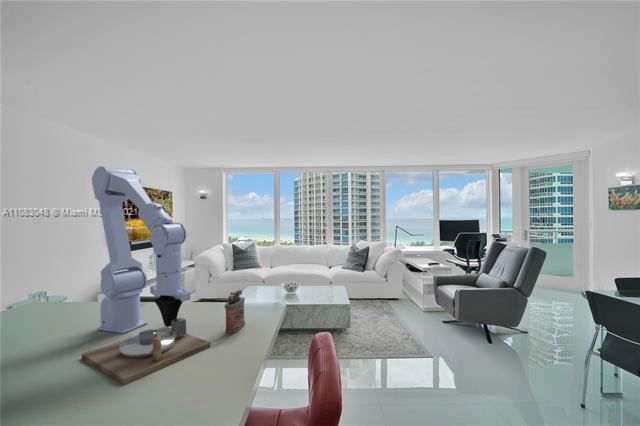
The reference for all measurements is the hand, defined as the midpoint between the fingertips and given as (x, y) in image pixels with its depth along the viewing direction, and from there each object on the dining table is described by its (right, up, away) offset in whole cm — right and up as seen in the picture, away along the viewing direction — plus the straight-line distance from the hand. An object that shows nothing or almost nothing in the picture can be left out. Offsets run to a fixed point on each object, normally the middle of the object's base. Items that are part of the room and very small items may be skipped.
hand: (170, 325), depth 79 cm
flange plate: (0, -2, -6) cm, 7 cm away
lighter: (+15, -3, +6) cm, 16 cm away
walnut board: (-1, -3, -8) cm, 9 cm away
